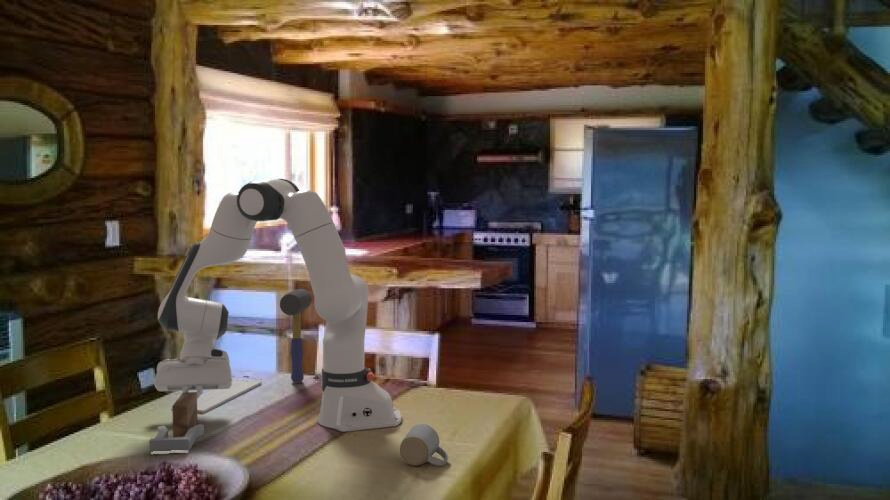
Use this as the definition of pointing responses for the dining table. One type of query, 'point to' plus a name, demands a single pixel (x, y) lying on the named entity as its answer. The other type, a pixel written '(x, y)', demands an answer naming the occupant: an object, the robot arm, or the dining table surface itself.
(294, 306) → the rubber mallet
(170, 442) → the grey channel
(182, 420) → the walnut plank
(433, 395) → the dining table surface
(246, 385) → the baseboard molding
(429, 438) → the ceramic mug
